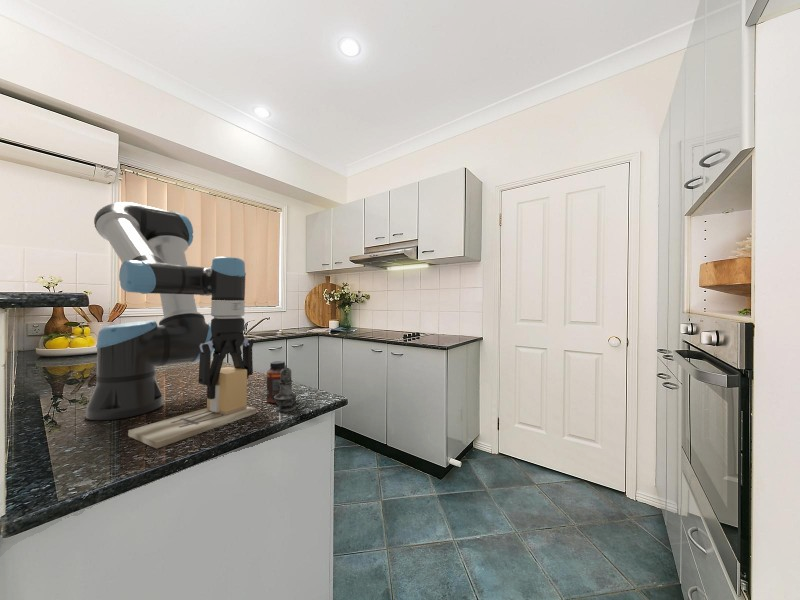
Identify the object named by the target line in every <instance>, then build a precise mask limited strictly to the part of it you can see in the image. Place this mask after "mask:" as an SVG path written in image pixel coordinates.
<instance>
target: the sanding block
mask: <svg viewBox="0 0 800 600" xmlns="http://www.w3.org/2000/svg"><path fill="white" fill-rule="evenodd" d="M216 385H220V405H219V412H217V413H220V414H224V415H228V414H231V413H234V412H237V411H240V410H243V409H246V408H247V406H248V402H247V401H248V379H247V370H246V369H239V368H235V367H232V366H225V367H221V370H220V374H219V377H218V381H217V384H216ZM206 408H207V410H209V411H210V399H208V398H207V397H206Z"/></svg>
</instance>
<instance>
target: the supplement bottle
mask: <svg viewBox="0 0 800 600" xmlns="http://www.w3.org/2000/svg"><path fill="white" fill-rule="evenodd" d="M285 365H286V362H285V361H284V360H276V361H271V362H270V367H269V369H268V370H266V371H267V372H266V393H265V394H266V397H265V398H266V402H268V403H272V404H277V403H276V401H275V398H274V396H275V395H277V394H279V392H280V383H279V382H280V372H281V370H282V369H284V368H285Z"/></svg>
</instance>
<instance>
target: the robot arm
mask: <svg viewBox="0 0 800 600" xmlns="http://www.w3.org/2000/svg"><path fill="white" fill-rule="evenodd" d="M93 218H94V219H93V220H94V221H93V223H94V228H95V230H96V232H97V233H98V235H99V236H100V237H101V238H102V239H104V240H106V241H108V243H109V244H110V245H111V247H112V248H113V250H114V252H115V254H116V255H117V256H118V258H119V260H120V262H121V263H122V264H121V265H120V268H119V271H118V272H119V275H118V277H119V279H118V280H119V282H120V283H119V284H120V288H121V289H122V290H123V291H124V292H127V293H133V294H134V293H136V294H142V295H143V294H144V295H147V294H155V295H156V294H159V296H160V301H161V303H160V304H161V307H162V313H163V317H162V319H160V320H159V321H158V323H157V320H142V321H141V320H140V321H131V322H122V323H117V324H112V325H107V326H104V327H102V328H101V329H100V330H99V331H98V332H97V333H98V334H97V341H96V345H95V347H96V348H97V349H96V384H95V388H94V390H93V392H92V395H91V396H90V398H89V401H88V403H87V405H86V408H85V419H87V420H90V421H110V420H111V421H112V420H119V419H124V418H125V419H126V418H131V417H134V416H135V417H136V416H139V415H143V414H146V413H149V412H154V411H155V410H157V409H159V408H161V407H163V403H164V395H163V393H162V391H161V388H160V386H159V384H158V381H157V379H156V369H157V368H158V367H163V366H170V365H178V364H186V363H194V362H199V364H198V365H199V367H198V381H197V382H198V384H199V385H204V386H206V399H207V398H208V399H210V411H213V412H219V405H220V385H216V384H217V381H218V377H219V374H220V370H221V368H223V367H222V366H223V363H224V359H225V358H226V356H227V355H228V354H229V355H230V357H231V360H232V364H233V366H234V367H233V368H239V369H246V370H247V380H248V379H249V376H252V375H253V373H254V369H253V368H254V367H253V366H254V365H253V346H254V342H255V339H254V338H247V337H246V338H245V335H244V332H245V318H243V316H245V309H246V307H245V302H246V301H245V296H246V275H247V274H246V263H245V261H244V260H243V259H241V258H239V257H232V256H215V257H213V259H212V261H211V265H210V267H206V266H205V267H202V266H194V265H188V261H187V257H186V253H185V252H186V251H188V249H189V247H190V246H191V245H192V243H193V240H194V227H193V225H192V222H191V220H190V219H189V217H187V216H186V215H184V214H182V213H179V212H176V211H173V210H165V209H160V208H157V207H152V206H147V205H143V204H140V203H139V204H138V203H135V202H128V201H123V202H121V201H119V202H115V203H110V204H107V205H105V206H103V207H101V208H100V209H99V210H98V211H97V212H96V214H95V216H94V217H93ZM195 296H206V297H207V296H211V307H210V309H211V310H210V316H211V317H213V318H211V319H210V322H206V319H205V315H204V314H202V313H201V312H198V310H197V309H198V308H197V303H196V299H195ZM241 347H242V349H241ZM211 358H212V359H211Z"/></svg>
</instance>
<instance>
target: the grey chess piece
mask: <svg viewBox="0 0 800 600" xmlns="http://www.w3.org/2000/svg"><path fill="white" fill-rule="evenodd" d="M279 383H280V392H279V394H277V395H275V396H274V398H275V401H276V403H275V404H276V405H277V406H278V407H276V408H275V409H274V411H275V412H276V413H288V412H289V411H290V412H292V410H293V411H295V410H296V409H297V408H296V406H295V405H293V404H294V403H295V401H296V400H297V397H298V394H297V393H296V392H293V389H292V388H293V386H292V385H293V384H292V383H293V380H292V369H291V368H288V364H285V368H284V369H282V370H281V372H280V382H279ZM295 408H296V409H295ZM294 409H295V410H294Z"/></svg>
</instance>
